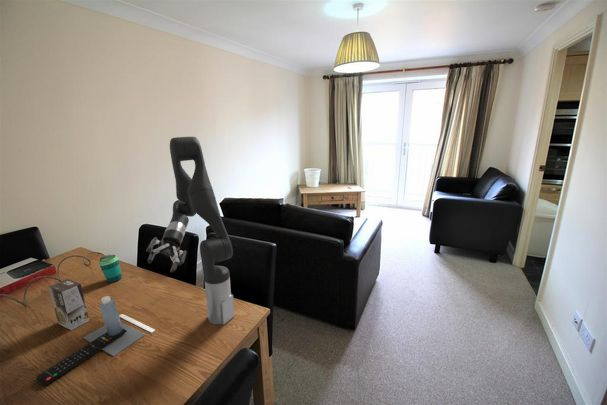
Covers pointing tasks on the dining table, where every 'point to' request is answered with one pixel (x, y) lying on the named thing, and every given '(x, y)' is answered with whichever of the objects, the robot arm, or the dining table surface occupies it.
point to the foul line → (136, 323)
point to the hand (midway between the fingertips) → (161, 267)
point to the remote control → (76, 358)
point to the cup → (110, 268)
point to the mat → (117, 339)
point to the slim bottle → (110, 316)
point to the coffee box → (69, 303)
